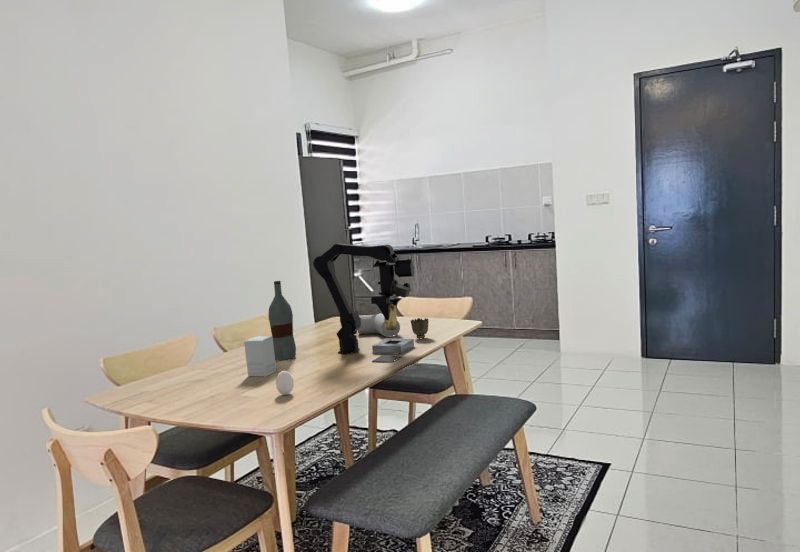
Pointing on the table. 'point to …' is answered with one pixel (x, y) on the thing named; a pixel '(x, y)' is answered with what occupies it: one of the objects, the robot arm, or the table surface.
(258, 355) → the supplement box
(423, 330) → the cup
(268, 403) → the table surface
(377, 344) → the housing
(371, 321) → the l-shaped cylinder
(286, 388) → the egg
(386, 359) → the mat
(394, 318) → the brass cylinder
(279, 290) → the bottle
